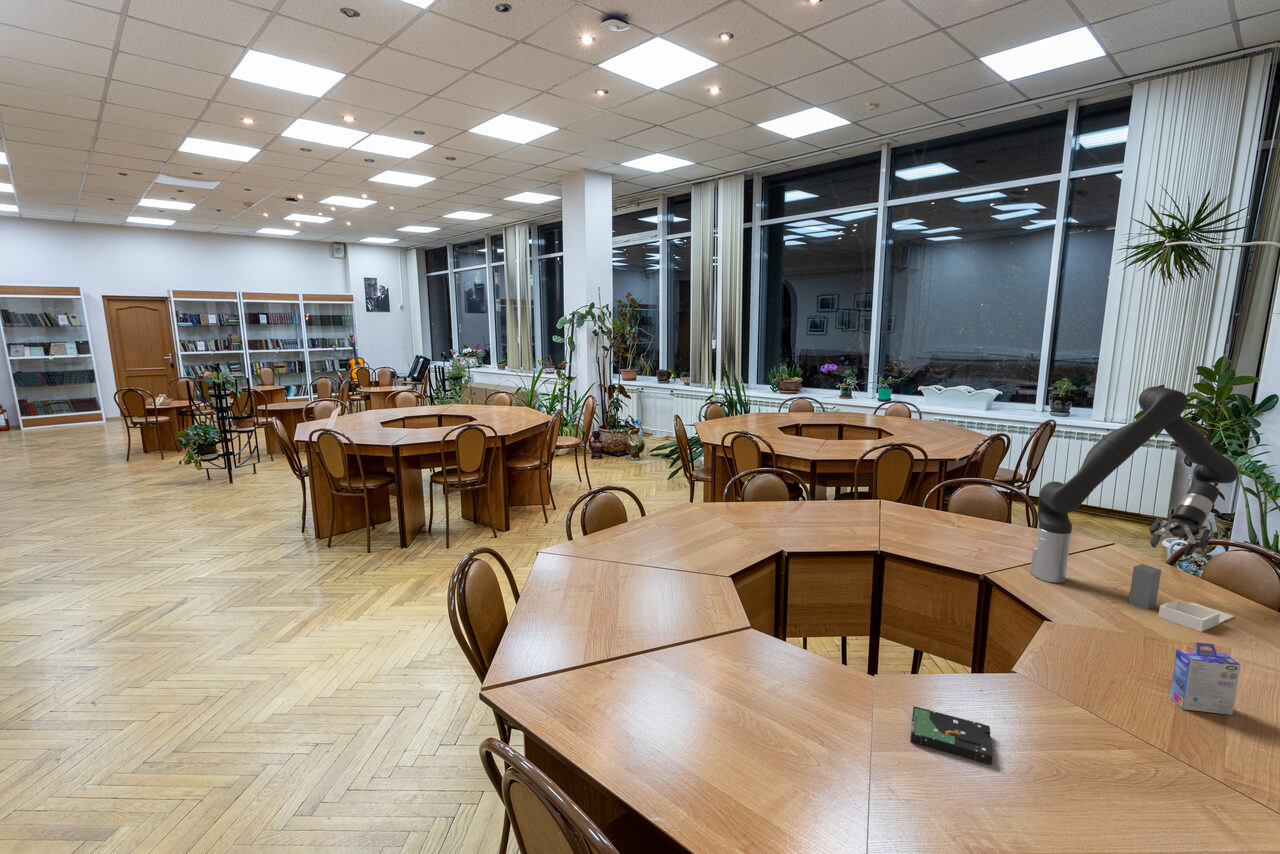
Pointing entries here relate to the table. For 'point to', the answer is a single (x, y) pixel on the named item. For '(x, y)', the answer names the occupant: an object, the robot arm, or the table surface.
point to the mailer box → (1192, 615)
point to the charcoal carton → (1144, 586)
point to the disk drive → (951, 735)
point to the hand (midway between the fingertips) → (1169, 550)
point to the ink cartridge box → (1205, 680)
